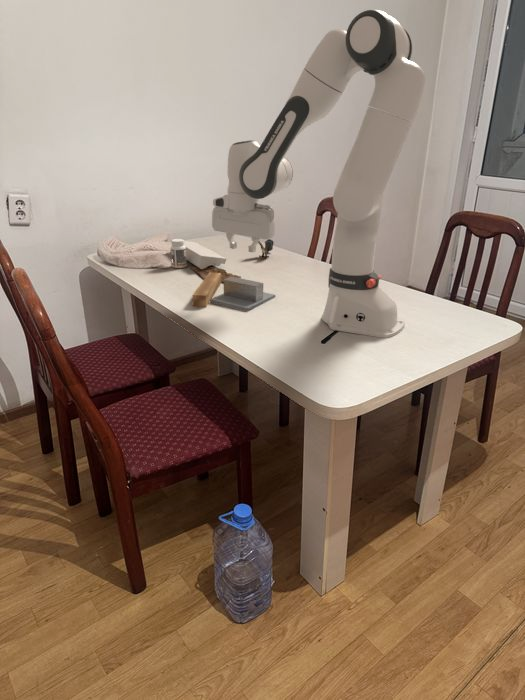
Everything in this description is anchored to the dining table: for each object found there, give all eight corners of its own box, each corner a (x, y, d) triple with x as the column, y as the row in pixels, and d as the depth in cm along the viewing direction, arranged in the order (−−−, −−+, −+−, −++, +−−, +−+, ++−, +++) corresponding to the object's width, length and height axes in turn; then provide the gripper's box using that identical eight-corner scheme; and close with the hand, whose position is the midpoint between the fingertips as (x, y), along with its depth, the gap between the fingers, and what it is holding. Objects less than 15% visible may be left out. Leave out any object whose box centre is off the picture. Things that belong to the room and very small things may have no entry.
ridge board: (275, 298, 159) (275, 279, 157) (248, 312, 148) (248, 291, 145) (238, 290, 166) (238, 271, 164) (210, 302, 155) (209, 283, 152)
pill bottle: (188, 264, 194) (187, 238, 189) (184, 268, 188) (183, 242, 184) (174, 264, 194) (172, 238, 190) (169, 268, 189) (168, 241, 185)
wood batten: (221, 284, 173) (221, 272, 171) (206, 308, 151) (205, 295, 150) (209, 283, 173) (209, 272, 172) (192, 307, 152) (192, 294, 150)
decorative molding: (193, 253, 216) (171, 250, 212) (195, 242, 215) (172, 239, 210) (224, 271, 188) (199, 268, 184) (226, 258, 187) (201, 255, 182)
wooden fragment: (247, 280, 174) (247, 277, 174) (221, 289, 168) (221, 286, 168) (207, 264, 193) (206, 261, 192) (182, 271, 187) (181, 268, 186)
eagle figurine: (253, 261, 200) (253, 238, 196) (254, 256, 206) (255, 234, 202) (273, 261, 199) (273, 238, 196) (273, 257, 206) (274, 234, 202)
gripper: (280, 204, 142) (278, 253, 148) (221, 197, 152) (221, 243, 158) (267, 207, 137) (266, 257, 143) (208, 199, 147) (209, 246, 153)
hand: (242, 250), depth 150 cm, fingers open, 5 cm apart
